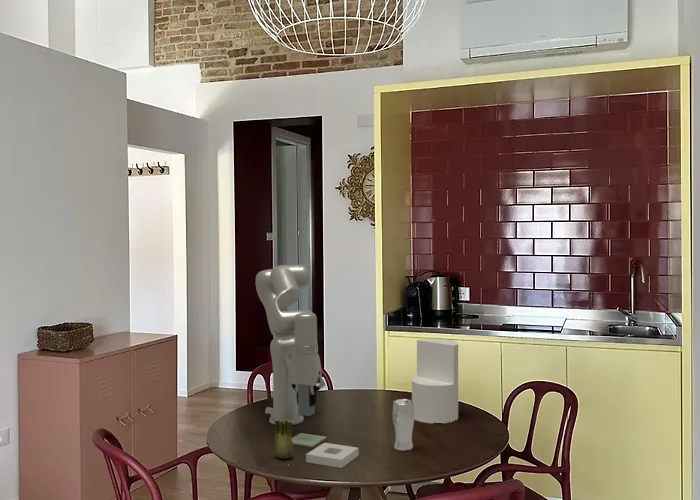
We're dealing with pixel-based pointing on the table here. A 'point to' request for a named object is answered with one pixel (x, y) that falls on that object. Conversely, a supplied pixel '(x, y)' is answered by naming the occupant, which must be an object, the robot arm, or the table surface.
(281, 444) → the fennel bulb
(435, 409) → the grey stepped cylindrical piece
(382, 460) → the table surface
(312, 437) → the sage mat
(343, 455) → the white square hole board
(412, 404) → the beer glass
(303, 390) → the slate plug
